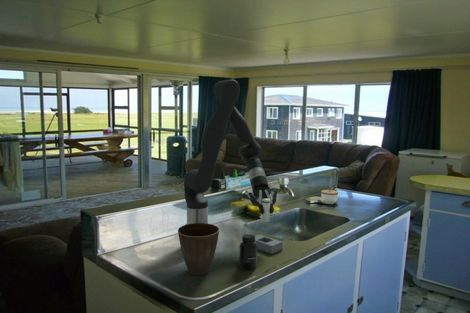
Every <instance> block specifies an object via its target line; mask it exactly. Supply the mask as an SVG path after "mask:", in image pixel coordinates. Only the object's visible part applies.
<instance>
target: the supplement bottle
mask: <svg viewBox="0 0 470 313" xmlns="http://www.w3.org/2000/svg"><path fill="white" fill-rule="evenodd" d="M255 236H256V235H254V234H251V233H250V234H248V233H247V234H242V237H241V238H242V239H241V241H242V242H240V244H239V248H238V249H239V250H238V251H239V253H238V266H239V268H240V269H242V270H246V271H251V270H255V269H256V268H257V266H258V249H257V244H256V243H255Z"/></svg>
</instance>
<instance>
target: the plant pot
mask: <svg viewBox="0 0 470 313" xmlns="http://www.w3.org/2000/svg"><path fill="white" fill-rule="evenodd" d="M186 224H187V223H186ZM177 233H178V239H179V246H180V248H181V249H180V251H181V252H182V257H183V260H184V262H185V266H186V267H187V271H188V273H189V274H191V275H193V276H204V275H206V274H208V273H209V271H210V269H211V265H212V264H213V260H214V257H215V253H216V250H217V245H218V240H219V233H220V228H219V227H218V225H215V224H212V223H208V224H207V223H193V224H187V225H185V224H184V225H182V226H180V227H178V229H177Z"/></svg>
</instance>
